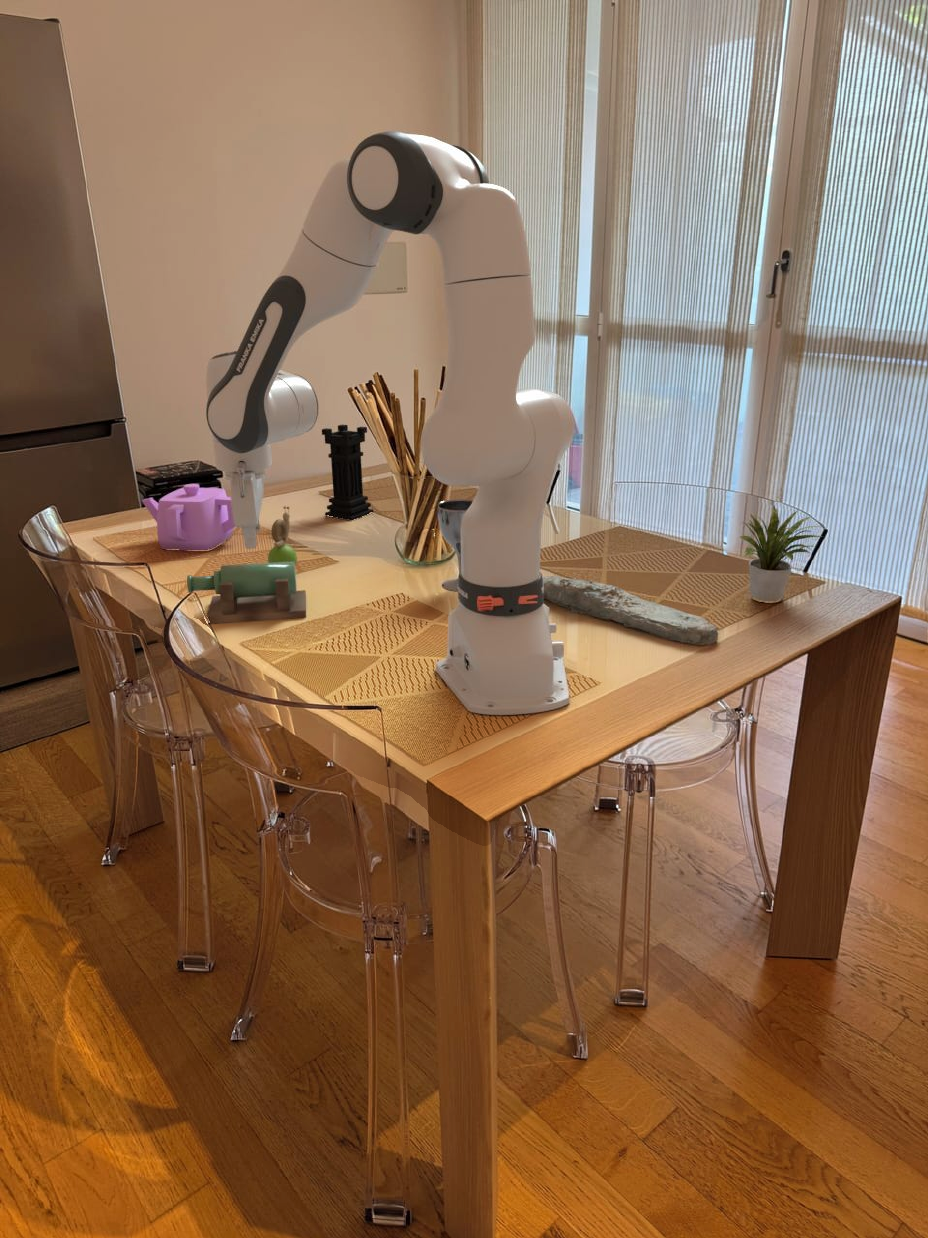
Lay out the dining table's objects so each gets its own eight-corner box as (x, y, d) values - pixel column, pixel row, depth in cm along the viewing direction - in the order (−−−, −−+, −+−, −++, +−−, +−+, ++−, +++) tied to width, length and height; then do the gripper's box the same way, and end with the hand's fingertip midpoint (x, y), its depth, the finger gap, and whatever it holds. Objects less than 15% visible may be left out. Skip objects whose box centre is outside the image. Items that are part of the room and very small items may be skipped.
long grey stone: (695, 664, 136) (727, 647, 143) (700, 631, 134) (733, 616, 141) (519, 596, 158) (555, 585, 165) (522, 568, 156) (558, 557, 163)
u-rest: (306, 596, 160) (303, 562, 158) (306, 617, 151) (303, 581, 149) (213, 602, 158) (209, 567, 155) (207, 623, 149) (202, 587, 146)
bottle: (297, 600, 155) (295, 571, 158) (294, 583, 150) (293, 554, 153) (191, 606, 152) (191, 578, 155) (185, 590, 148) (185, 561, 150)
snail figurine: (304, 566, 176) (300, 506, 171) (290, 577, 170) (285, 515, 165) (279, 564, 177) (273, 505, 172) (264, 575, 171) (258, 513, 167)
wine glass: (478, 593, 161) (478, 511, 155) (435, 590, 162) (433, 509, 157) (486, 578, 168) (486, 499, 162) (444, 576, 169) (443, 498, 164)
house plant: (769, 622, 147) (781, 524, 141) (704, 597, 158) (713, 506, 152) (824, 604, 154) (838, 510, 148) (759, 581, 165) (769, 494, 159)
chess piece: (373, 512, 212) (369, 426, 205) (352, 520, 206) (347, 432, 199) (346, 508, 216) (341, 423, 209) (325, 516, 210) (319, 429, 202)
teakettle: (173, 559, 181) (165, 499, 177) (145, 540, 194) (136, 483, 189) (252, 543, 191) (246, 486, 186) (220, 526, 203) (214, 472, 199)
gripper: (260, 467, 135) (270, 556, 140) (265, 444, 154) (274, 522, 159) (217, 470, 134) (228, 559, 139) (228, 446, 153) (237, 525, 158)
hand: (252, 539), depth 149 cm, fingers open, 8 cm apart
